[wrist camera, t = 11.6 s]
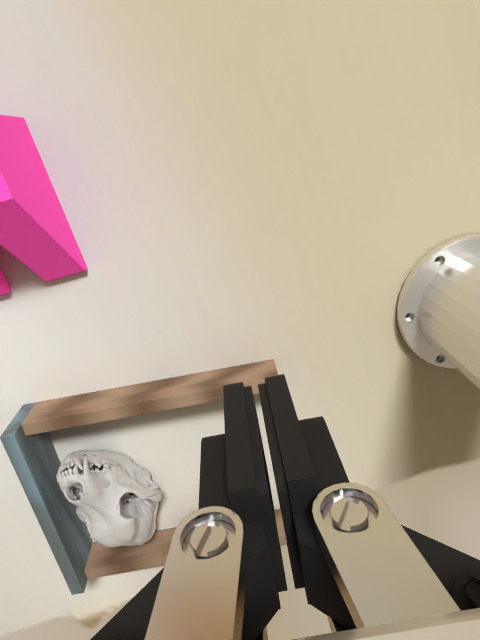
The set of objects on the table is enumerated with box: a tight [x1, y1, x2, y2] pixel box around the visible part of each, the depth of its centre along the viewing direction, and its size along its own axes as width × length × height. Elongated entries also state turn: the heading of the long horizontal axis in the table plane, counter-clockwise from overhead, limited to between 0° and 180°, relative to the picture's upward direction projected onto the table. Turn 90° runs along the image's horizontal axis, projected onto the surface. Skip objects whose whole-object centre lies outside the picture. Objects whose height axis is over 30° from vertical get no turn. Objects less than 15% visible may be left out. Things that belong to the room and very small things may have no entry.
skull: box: [56, 450, 162, 547], centre depth 42 cm, size 8×9×12 cm
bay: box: [0, 359, 287, 595], centre depth 43 cm, size 24×19×5 cm
